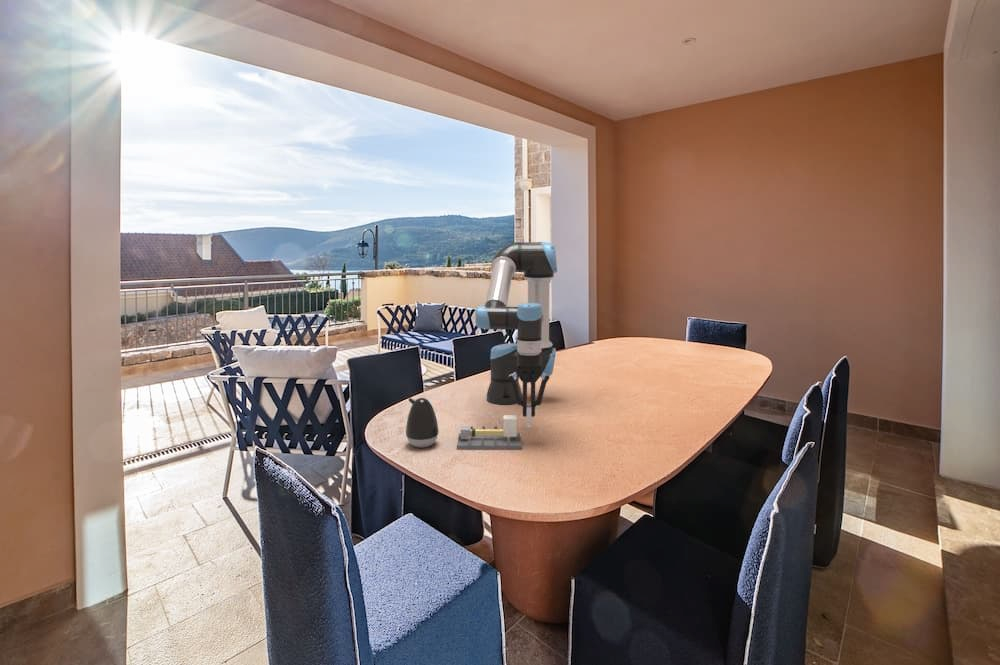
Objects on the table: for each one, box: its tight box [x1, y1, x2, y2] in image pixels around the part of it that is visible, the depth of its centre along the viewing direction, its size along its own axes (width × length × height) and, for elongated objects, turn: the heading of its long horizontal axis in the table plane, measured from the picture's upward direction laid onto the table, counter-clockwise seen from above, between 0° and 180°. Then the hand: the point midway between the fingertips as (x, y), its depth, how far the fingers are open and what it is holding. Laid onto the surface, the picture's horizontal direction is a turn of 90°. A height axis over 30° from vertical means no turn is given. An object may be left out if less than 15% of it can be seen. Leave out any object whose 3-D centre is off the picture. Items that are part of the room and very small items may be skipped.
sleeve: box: [502, 414, 517, 437], centre depth 155 cm, size 4×4×6 cm
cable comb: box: [456, 425, 523, 450], centre depth 155 cm, size 20×11×5 cm, turn 90°
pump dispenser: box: [405, 397, 439, 449], centre depth 153 cm, size 10×10×15 cm
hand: (528, 426), depth 155 cm, fingers closed
